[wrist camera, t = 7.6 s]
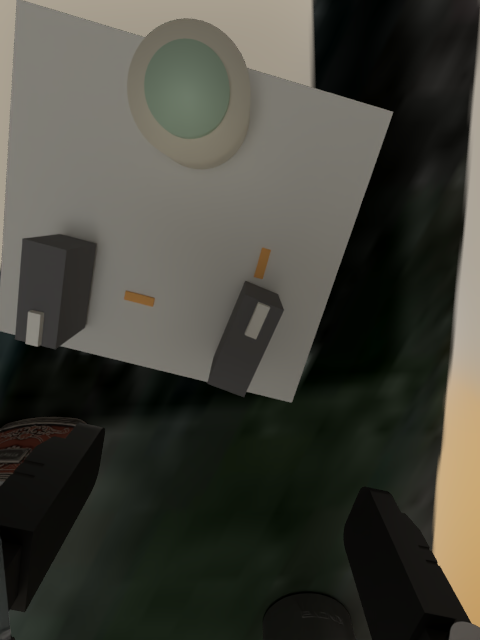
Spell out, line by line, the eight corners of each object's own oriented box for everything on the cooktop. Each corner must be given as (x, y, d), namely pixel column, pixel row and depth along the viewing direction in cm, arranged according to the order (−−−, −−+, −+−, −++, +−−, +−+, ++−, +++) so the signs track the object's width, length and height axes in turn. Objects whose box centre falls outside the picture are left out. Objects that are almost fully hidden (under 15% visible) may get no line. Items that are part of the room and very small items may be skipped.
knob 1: (213, 357, 25) (206, 386, 21) (245, 280, 23) (244, 296, 19) (244, 369, 25) (243, 400, 21) (278, 294, 24) (284, 312, 20)
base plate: (287, 386, 29) (300, 440, 22) (19, 320, 28) (-55, 355, 21) (378, 122, 23) (432, 85, 16) (42, 21, 22) (-51, -64, 15)
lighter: (86, 413, 30) (11, 508, 20) (94, 447, 31) (27, 552, 21) (-5, 420, 30) (-120, 516, 21) (6, 453, 31) (-99, 559, 22)
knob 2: (96, 243, 23) (62, 250, 19) (85, 327, 25) (51, 351, 20) (60, 233, 23) (17, 239, 19) (51, 319, 25) (10, 341, 20)
